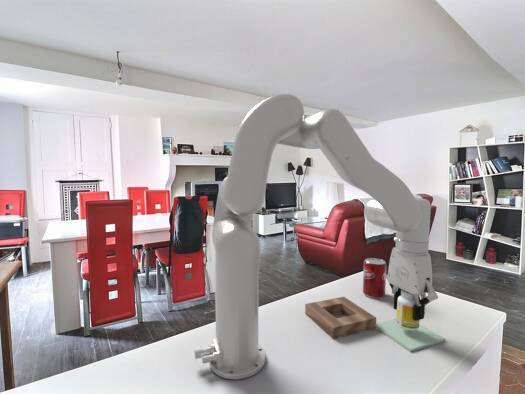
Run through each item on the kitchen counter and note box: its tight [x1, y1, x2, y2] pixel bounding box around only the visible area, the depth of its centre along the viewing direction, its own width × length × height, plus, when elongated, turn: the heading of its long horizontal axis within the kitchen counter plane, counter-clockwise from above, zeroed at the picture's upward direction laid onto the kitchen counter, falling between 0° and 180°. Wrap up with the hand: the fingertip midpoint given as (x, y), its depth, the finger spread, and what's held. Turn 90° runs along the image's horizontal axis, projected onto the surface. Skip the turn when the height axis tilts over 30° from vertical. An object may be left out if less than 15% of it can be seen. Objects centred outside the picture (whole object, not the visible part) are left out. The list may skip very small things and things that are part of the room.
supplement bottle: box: [395, 289, 421, 331], centre depth 74 cm, size 5×5×10 cm
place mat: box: [375, 318, 446, 353], centre depth 74 cm, size 12×12×1 cm
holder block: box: [304, 296, 377, 340], centre depth 81 cm, size 14×14×3 cm
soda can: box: [362, 257, 387, 299], centre depth 98 cm, size 7×7×12 cm
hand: (408, 313), depth 74 cm, fingers closed on supplement bottle, 5 cm apart
